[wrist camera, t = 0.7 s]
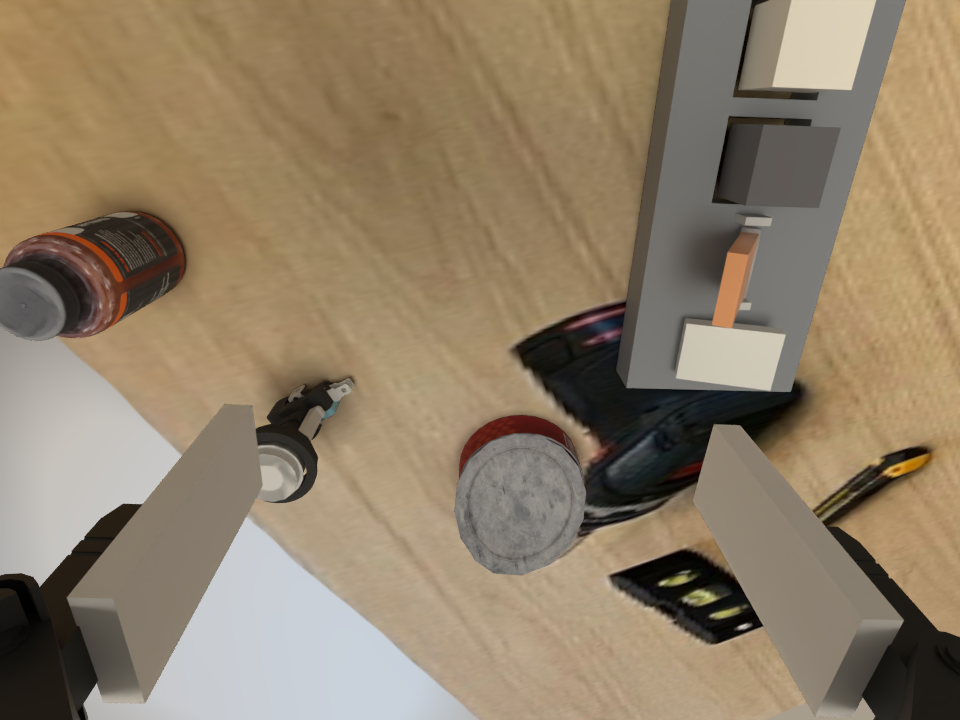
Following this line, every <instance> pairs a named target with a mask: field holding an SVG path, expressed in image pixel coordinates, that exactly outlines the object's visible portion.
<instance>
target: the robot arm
mask: <svg viewBox="0 0 960 720" xmlns="http://www.w3.org/2000/svg"><path fill="white" fill-rule="evenodd" d="M262 486H263V483H262V475H261V468H260V460H259V452H258V445H257V437H256V429H255V422H254V414H253V407H252V405H234V404H224V405H223V406H222V408H221V409H220V410H219V411H218V413H217V414H216V415H215V416H214V417H213V419H212V420H211V421H210V422H209V424H208V425H207V426H206V427H205V428H204V430H203V431H202V432H201V433H200V435H199V436H198V437H197V438H196V440H195V441H194V442H193V443H192V444H191V446H190V447H189V448H188V449H187V451H186V452H185V453H184V454H183V455H182V457H181V458H180V459H179V460H178V462H177V463H176V464H175V465H174V467H173V468H172V469H171V470H170V472H169V473H168V474H167V475H166V476H165V478H164V479H163V480H162V481H161V482H160V484H159V485H158V486H157V488H156V489H155V490H154V491H153V492H152V494H151V495H150V496H149V497H148V498H147V500H146V501H145V502H144V503H143V504H122V505H121V506H119V507H118V508H116V509H115V510H113V511H112V512H110V513H109V514H107V515H106V516H104V517H103V518H101V519H100V520H99V521H98V522H97V523H96V525H95V526H94V527H93V528H92V529H91V530H90V531H89V532H88V533H87V534H86V536H85V539H84V540H81V541H80V542H79V544H78V545H77V546H76V547H75V548H74V549H73V550H72V553H71V555H68V556H67V557H66V558H65V559H64V560H63V562H62V563H61V564H60V565H59V566H58V567H57V568H56V569H55V571H54V572H53V573H52V574H51V575H50V576H49V577H48V578H47V579H46V581H45V582H44V583H43V584H42V585H41V586H40V587H39V585H38V583H37V582H36V580H35V579H34V578H33V577H31V576H28V575H25V574H22V573H20V574H4V575H1V576H0V720H88V716H87V712H86V710H85V707H84V705H83V703H84V702H85V700H86V699H87V697H88V696H89V694H90V692H91V691H92V689H93V688H94V686H95V685H96V683H97V685H98V688H99V690H100V694H101V696H102V699H103V702H104V703H140V704H141V703H142V704H144V703H145V702H146V701H147V699H148V697H149V695H150V693H151V691H152V690H153V688H154V686H155V684H156V682H157V680H158V678H159V677H160V675H161V673H162V671H163V669H164V667H165V666H166V664H167V662H168V660H169V658H170V656H171V654H172V653H173V651H174V649H175V647H176V645H177V643H178V641H179V640H180V638H181V636H182V634H183V632H184V630H185V628H186V627H187V624H188V623H189V621H190V619H191V617H192V615H193V614H194V612H195V610H196V608H197V606H198V604H199V602H200V601H201V599H202V597H203V595H204V593H205V592H206V590H207V588H208V586H209V584H210V582H211V580H212V579H213V577H214V575H215V573H216V571H217V569H218V567H219V566H220V564H221V562H222V560H223V558H224V556H225V555H226V553H227V551H228V549H229V547H230V545H231V543H232V541H233V540H234V538H235V536H236V534H237V532H238V530H239V529H240V527H241V525H242V523H243V521H244V519H245V517H246V516H247V514H248V512H249V510H250V508H251V506H252V505H253V503H254V501H255V499H256V497H257V495H258V493H259V492H260V490H261V488H262ZM693 502H694V504H695V505H696V507H697V509H698V511H699V512H700V514H701V516H702V518H703V520H704V521H705V523H706V525H707V527H708V528H709V530H710V532H711V534H712V535H713V537H714V539H715V541H716V543H717V544H718V546H719V548H720V550H721V551H722V553H723V555H724V557H725V559H726V560H727V562H728V564H729V566H730V567H731V569H732V571H733V573H734V574H735V576H736V578H737V580H738V582H739V583H740V585H741V587H742V589H743V590H744V592H745V594H746V596H747V597H748V599H749V601H750V603H751V605H752V606H753V608H754V610H755V612H756V613H757V615H758V617H759V619H760V621H761V622H762V624H763V626H764V628H765V629H766V631H767V633H768V635H769V636H770V638H771V640H772V642H773V644H774V645H775V647H776V649H777V651H778V652H779V654H780V656H781V658H782V659H783V661H784V663H785V665H786V667H787V668H788V670H789V672H790V674H791V675H792V677H793V679H794V681H795V683H796V684H797V686H798V688H799V690H800V691H801V693H802V695H803V697H804V698H805V700H806V702H807V704H808V705H809V707H810V709H811V711H812V713H813V714H814V716H815V717H852V716H853V714H854V712H855V711H856V709H857V707H858V705H859V703H860V701H861V699H862V698H864V700H865V701H866V703H867V704H868V706H869V707H870V709H871V710H872V712H873V713H874V715H875V718H874V720H960V637H958V636H955V635H952V634H949V633H947V632H940V631H938V630H937V629H936V628H935V626H934V625H933V624H932V623H931V622H930V621H929V620H928V619H927V617H926V616H925V615H924V614H923V613H922V612H921V611H920V610H919V609H918V607H917V606H916V605H915V604H914V603H913V602H912V601H911V600H910V598H909V597H908V596H907V595H906V594H905V593H904V592H903V591H902V589H901V588H900V587H899V586H898V585H897V584H896V583H895V582H894V580H893V579H892V578H889V577H888V574H887V573H886V571H885V570H884V569H883V568H882V567H881V566H880V565H879V564H876V562H875V559H874V558H873V557H872V556H871V555H870V554H869V552H868V551H867V550H866V549H865V548H864V547H863V546H862V545H861V543H860V542H858V541H857V540H855V539H854V538H853V537H851V536H850V535H848V534H847V533H846V532H844V531H843V530H841V529H840V528H839V527H829V526H824V525H823V523H822V522H821V521H820V520H819V519H818V518H817V516H816V515H815V514H814V513H813V512H812V510H811V509H810V508H809V507H808V506H807V505H806V503H805V502H804V501H803V500H802V499H801V497H800V496H799V495H798V494H797V493H796V491H795V490H794V489H793V488H792V487H791V486H790V484H789V483H788V482H787V481H786V480H785V478H784V477H783V476H782V475H781V474H780V472H779V471H778V470H777V469H776V468H775V467H774V465H773V464H772V463H771V462H770V461H769V459H768V458H767V457H766V456H765V455H764V454H763V452H762V451H761V450H760V449H759V448H758V446H757V445H756V444H755V443H754V442H753V440H752V439H751V438H750V437H749V436H748V435H747V433H746V432H745V431H744V430H743V429H742V427H741V426H738V425H714V426H713V430H712V433H711V437H710V441H709V444H708V448H707V452H706V455H705V459H704V463H703V466H702V470H701V473H700V477H699V481H698V484H697V488H696V492H695V495H694V499H693Z"/></svg>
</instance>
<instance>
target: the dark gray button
mask: <svg viewBox="0 0 960 720" xmlns="http://www.w3.org/2000/svg"><path fill="white" fill-rule="evenodd" d="M840 130H841V128H840V127H814V126H788V125H761V124H731V127H730V132H729V137H728V142H727V147H726V152H725V157H724V162H723V167H722V172H721V177H720V182H719V186H718V191H717V196H718V197H721V198H724V199H727V200H730V201H733V202H736V203H739V204H742V205H745V206H770V207H800V208H819V206H820V202H821V198H822V195H823V191H824V188H825V184H826V180H827V177H828V173H829V169H830V166H831V162H832V159H833V155H834V151H835V148H836V144H837V140H838V137H839V133H840Z"/></svg>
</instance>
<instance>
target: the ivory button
mask: <svg viewBox="0 0 960 720" xmlns="http://www.w3.org/2000/svg"><path fill="white" fill-rule="evenodd" d="M875 3H876V0H769V1H766V2H764V3H761V4H758V5H756V6H755V8H754V13H753V18H752V23H751V28H750V33H749V38H748V42H747V47H746V52H745V57H744V62H743V67H742V72H741V77H740V82H739V87H738V90H748V91H773V92H798V93H815V92H830V91H845V90H852V86H853V83H854V79H855V75H856V72H857V68H858V64H859V61H860V57H861V54H862V50H863V46H864V43H865V39H866V35H867V32H868V28H869V25H870V21H871V17H872V14H873V10H874V7H875Z"/></svg>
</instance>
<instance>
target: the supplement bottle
mask: <svg viewBox="0 0 960 720" xmlns="http://www.w3.org/2000/svg"><path fill="white" fill-rule="evenodd" d="M184 266H185V261H184V254H183V250H182V247H181V244H180V243H179V241H178V239H177V237H176V236H175V235H174V233H173V232H172V231H171V230H170V229H169V228H168V227H167V226H166V225H165V224H164V223H162V222H161V221H159V220H158V219H156V218H154V217H152V216H150V215H148V214H145V213H140V212H135V211H125V212H119V213H114V214H109V215H106V216H102V217H98V218H96V219H93V220H89V221H86V222H82V223H79V224H76V225H72V226H68V227H64V228H61V229H58V230H54V231H51V232H47V233H44V234H41V235H37V236H34V237H31V238H29V239H27V240H25V241H23V242H21V243H19V244H18V245H16V247H14V248H13V250H11V252H10V253H9V254H8V256H7V258H6V260H5V263H4V267H3V268H0V326H1V327H2V328H4V329H5V330H7V331H8V332H10V333H12V334H14V335H16V336H17V337H21V338H23V339H27V340H31V341H32V340H34V341H41V340H47V339H50V338H53V337H55V336H60V337H65V338H85V337H89V336H92V335H95V334H97V333H100V332H102V331H104V330H106V329H107V328H109V327H111V326H113V325H114V324H116V323H118V322H119V321H121V320H123V319H124V318H126V317H128V316H130V315H131V314H133V313H134V312H136V311H138V310H139V309H141V308H143V307H145V306H146V305H148V304H150V303H151V302H153V301H154V300H156V299H158V298H160V297H161V296H163V295H165V294H166V293H168V292H169V291H170V290H172V289H173V288H174V287H175V286H176V285H177V284H178V282H179V281H180V279H181V278H182V276H183V272H184Z"/></svg>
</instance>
